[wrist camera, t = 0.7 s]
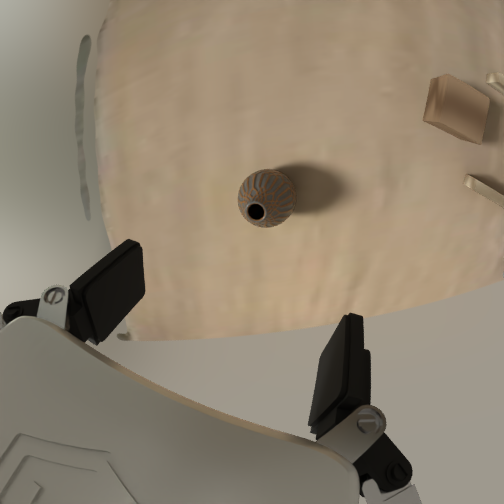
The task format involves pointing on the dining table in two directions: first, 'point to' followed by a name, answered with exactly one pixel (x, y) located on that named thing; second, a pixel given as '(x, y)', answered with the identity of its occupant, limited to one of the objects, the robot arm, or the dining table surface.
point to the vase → (266, 198)
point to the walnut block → (457, 108)
